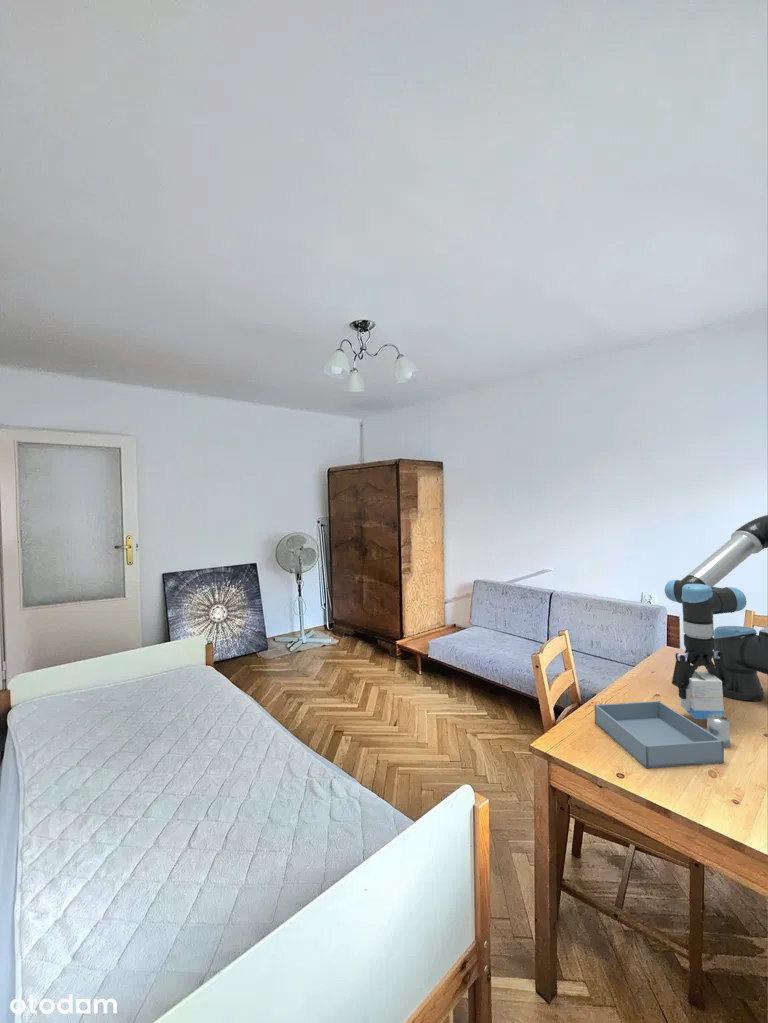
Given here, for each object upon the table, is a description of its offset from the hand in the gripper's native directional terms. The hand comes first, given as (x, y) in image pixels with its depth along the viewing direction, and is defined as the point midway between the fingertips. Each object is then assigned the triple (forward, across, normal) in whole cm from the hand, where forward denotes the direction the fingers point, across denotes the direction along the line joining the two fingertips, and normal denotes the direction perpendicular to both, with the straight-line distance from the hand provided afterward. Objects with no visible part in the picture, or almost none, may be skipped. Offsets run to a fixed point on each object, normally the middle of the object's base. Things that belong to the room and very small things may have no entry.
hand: (701, 707), depth 130 cm
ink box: (+2, 0, 0) cm, 2 cm away
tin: (+4, +5, +11) cm, 13 cm away
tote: (+4, +22, +8) cm, 24 cm away
